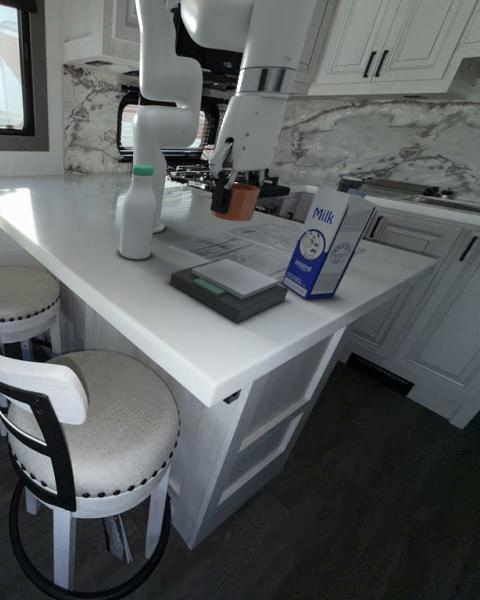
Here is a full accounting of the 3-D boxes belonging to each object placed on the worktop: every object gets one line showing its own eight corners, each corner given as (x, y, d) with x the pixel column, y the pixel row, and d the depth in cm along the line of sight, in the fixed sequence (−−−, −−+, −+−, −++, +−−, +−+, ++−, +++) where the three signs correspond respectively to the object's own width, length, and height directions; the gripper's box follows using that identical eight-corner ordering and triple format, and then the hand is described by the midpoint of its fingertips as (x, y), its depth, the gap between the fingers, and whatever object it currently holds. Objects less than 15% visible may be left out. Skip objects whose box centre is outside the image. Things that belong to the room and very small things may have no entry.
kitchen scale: (169, 283, 62) (172, 268, 60) (217, 269, 70) (220, 254, 68) (236, 323, 51) (241, 305, 49) (284, 300, 59) (290, 284, 57)
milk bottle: (148, 262, 71) (160, 169, 61) (116, 257, 72) (122, 166, 62) (151, 250, 78) (162, 165, 67) (122, 246, 79) (128, 162, 68)
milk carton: (280, 283, 65) (318, 184, 55) (307, 281, 67) (348, 185, 56) (305, 299, 59) (352, 193, 49) (334, 297, 61) (385, 193, 50)
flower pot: (203, 213, 55) (209, 183, 52) (227, 209, 58) (234, 181, 56) (235, 223, 50) (243, 191, 48) (259, 218, 54) (268, 188, 51)
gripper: (272, 93, 52) (244, 201, 61) (203, 81, 43) (182, 209, 52) (318, 91, 46) (279, 210, 55) (250, 78, 38) (217, 221, 47)
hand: (232, 209), depth 54 cm, fingers closed on flower pot, 6 cm apart
